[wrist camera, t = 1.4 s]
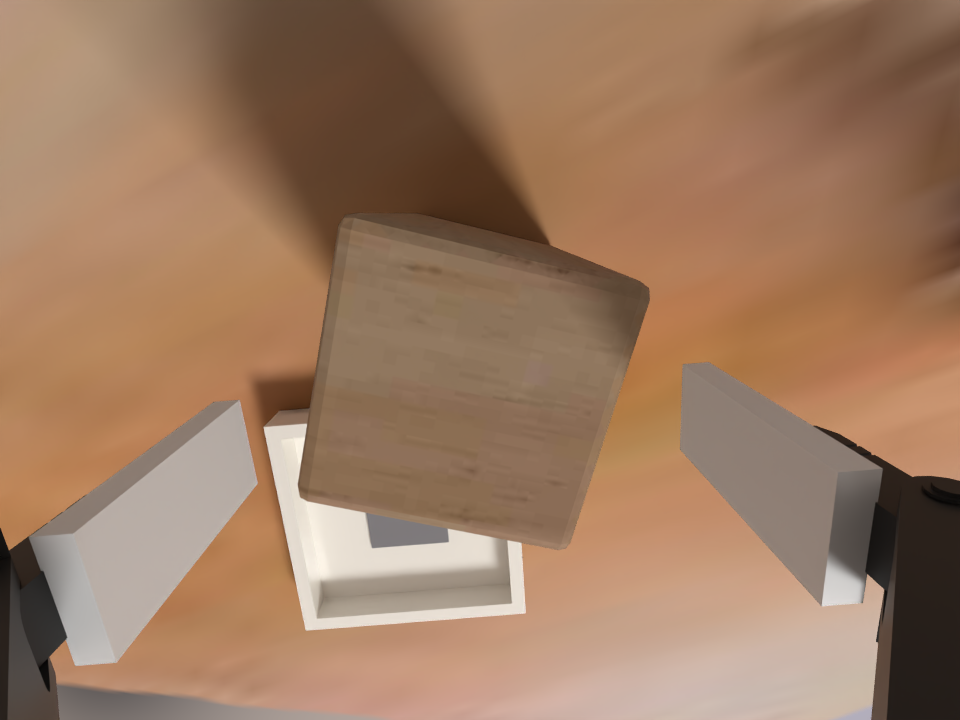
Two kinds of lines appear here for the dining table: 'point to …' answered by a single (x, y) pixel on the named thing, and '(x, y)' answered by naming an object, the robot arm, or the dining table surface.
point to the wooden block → (465, 377)
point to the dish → (384, 556)
